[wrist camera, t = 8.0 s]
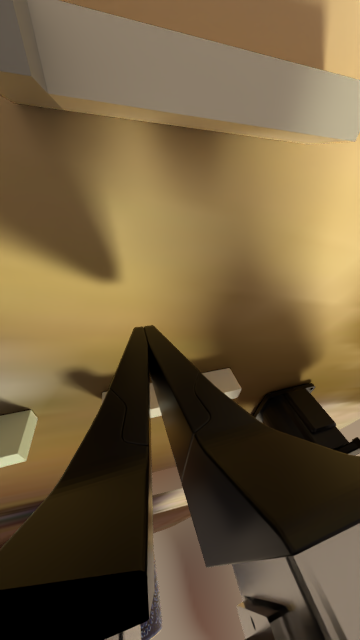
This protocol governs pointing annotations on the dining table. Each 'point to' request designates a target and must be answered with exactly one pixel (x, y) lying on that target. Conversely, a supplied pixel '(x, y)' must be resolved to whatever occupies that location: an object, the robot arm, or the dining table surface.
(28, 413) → the tray
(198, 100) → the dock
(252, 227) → the dining table surface
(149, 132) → the dining table surface
